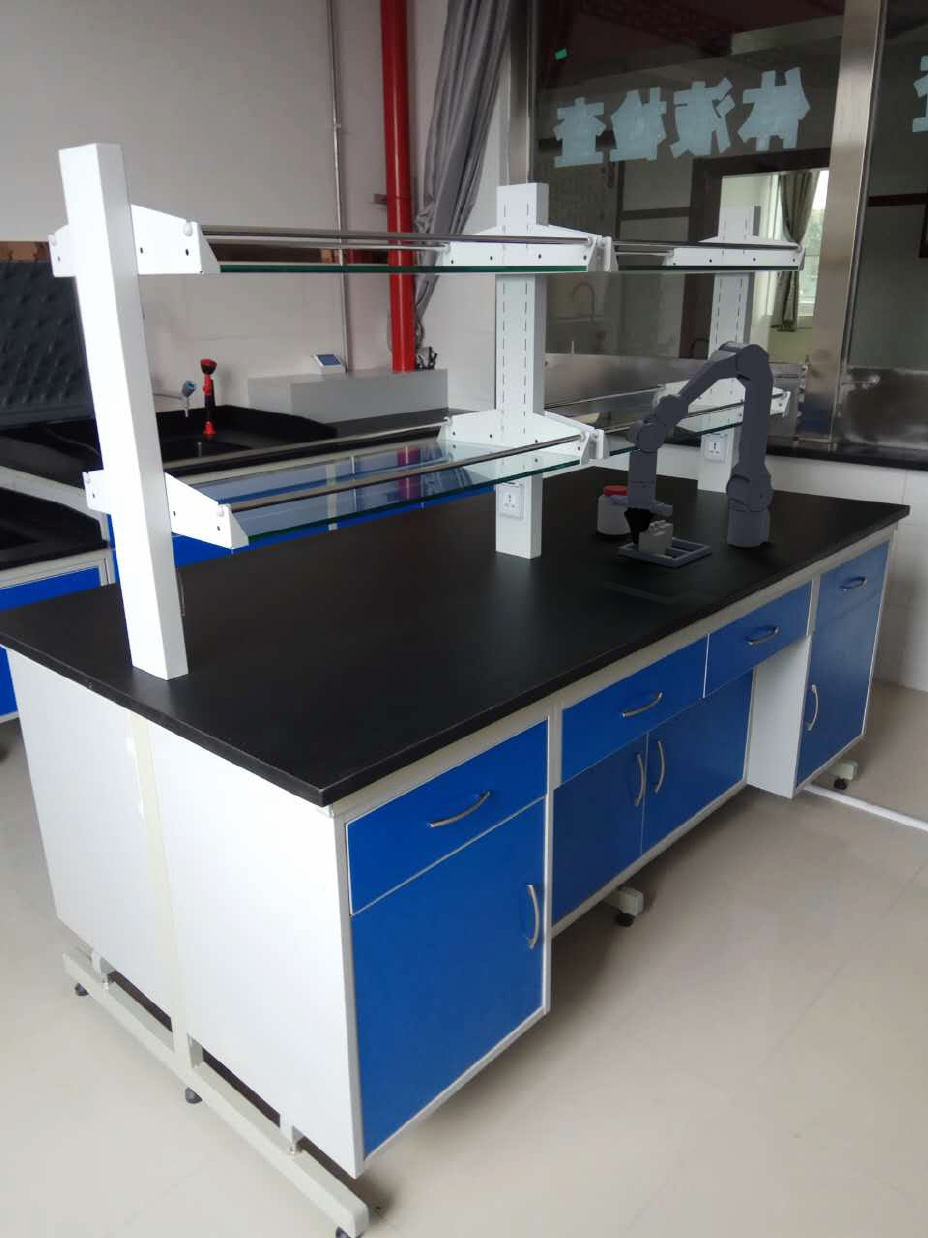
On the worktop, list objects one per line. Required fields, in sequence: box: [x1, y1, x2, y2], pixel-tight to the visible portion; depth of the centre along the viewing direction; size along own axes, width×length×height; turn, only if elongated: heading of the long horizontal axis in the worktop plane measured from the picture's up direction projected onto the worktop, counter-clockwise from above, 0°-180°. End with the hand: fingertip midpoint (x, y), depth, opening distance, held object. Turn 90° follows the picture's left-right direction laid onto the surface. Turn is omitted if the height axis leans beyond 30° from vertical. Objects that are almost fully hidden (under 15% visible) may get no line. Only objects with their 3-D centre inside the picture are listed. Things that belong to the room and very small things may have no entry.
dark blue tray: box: [618, 536, 713, 568], centre depth 199 cm, size 14×19×3 cm
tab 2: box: [648, 519, 674, 548], centre depth 201 cm, size 4×4×6 cm
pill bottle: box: [596, 484, 631, 536], centre depth 214 cm, size 8×8×11 cm
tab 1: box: [637, 528, 666, 556], centre depth 195 cm, size 4×4×6 cm
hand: (638, 543), depth 198 cm, fingers closed
